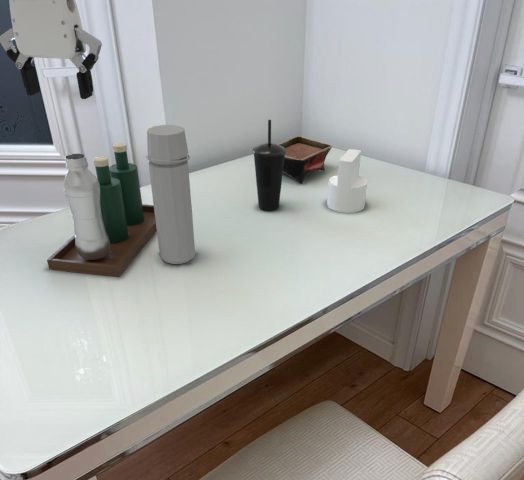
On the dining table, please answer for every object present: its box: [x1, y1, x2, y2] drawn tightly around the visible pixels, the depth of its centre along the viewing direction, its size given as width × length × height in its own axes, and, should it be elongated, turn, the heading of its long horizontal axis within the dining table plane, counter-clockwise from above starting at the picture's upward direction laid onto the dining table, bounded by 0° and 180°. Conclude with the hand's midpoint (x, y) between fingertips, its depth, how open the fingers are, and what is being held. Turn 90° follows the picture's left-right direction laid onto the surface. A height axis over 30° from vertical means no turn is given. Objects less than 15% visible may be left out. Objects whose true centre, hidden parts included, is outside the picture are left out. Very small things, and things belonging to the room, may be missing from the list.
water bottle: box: [146, 124, 196, 265], centre depth 105 cm, size 9×8×25 cm
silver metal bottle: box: [62, 152, 110, 260], centre depth 105 cm, size 6×7×20 cm
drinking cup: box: [251, 119, 286, 212], centre depth 126 cm, size 8×8×20 cm
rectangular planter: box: [277, 135, 333, 184], centre depth 149 cm, size 14×18×10 cm
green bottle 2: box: [109, 142, 144, 226], centre depth 120 cm, size 6×6×17 cm
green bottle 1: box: [93, 155, 129, 243], centre depth 113 cm, size 6×6×17 cm
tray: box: [46, 203, 157, 278], centre depth 117 cm, size 15×30×2 cm, turn 168°
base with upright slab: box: [326, 148, 368, 214], centre depth 129 cm, size 9×9×12 cm
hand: (60, 95), depth 93 cm, fingers open, 9 cm apart
